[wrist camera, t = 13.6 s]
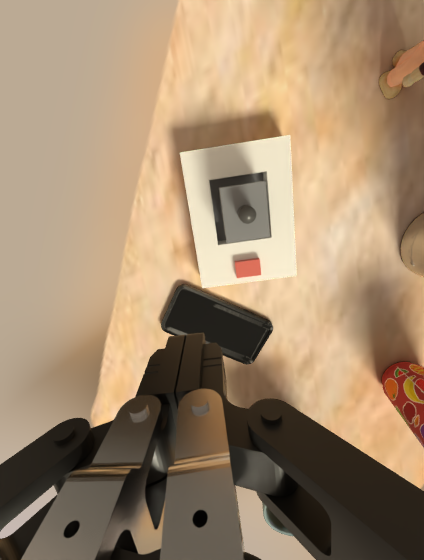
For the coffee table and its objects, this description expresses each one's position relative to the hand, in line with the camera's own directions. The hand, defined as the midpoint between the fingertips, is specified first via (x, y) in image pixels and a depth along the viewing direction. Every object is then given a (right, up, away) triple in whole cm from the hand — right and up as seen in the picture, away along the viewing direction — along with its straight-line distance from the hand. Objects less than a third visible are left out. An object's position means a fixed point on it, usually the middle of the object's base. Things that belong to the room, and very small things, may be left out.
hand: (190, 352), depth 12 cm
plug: (+4, +12, +22) cm, 26 cm away
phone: (+2, -3, +29) cm, 29 cm away
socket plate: (+4, +11, +23) cm, 26 cm away
